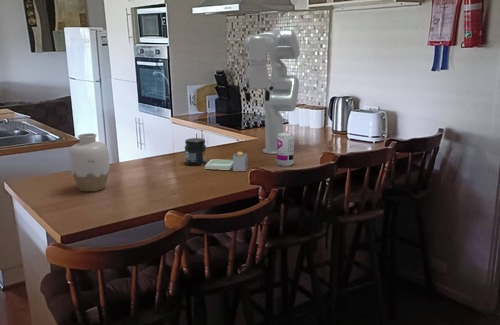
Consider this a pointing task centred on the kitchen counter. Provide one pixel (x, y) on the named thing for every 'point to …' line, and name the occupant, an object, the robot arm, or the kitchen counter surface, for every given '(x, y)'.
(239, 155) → the ball
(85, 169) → the vase
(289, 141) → the supplement can
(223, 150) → the kitchen counter surface
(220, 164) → the tray
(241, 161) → the hollow metal cube
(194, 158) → the supplement container
